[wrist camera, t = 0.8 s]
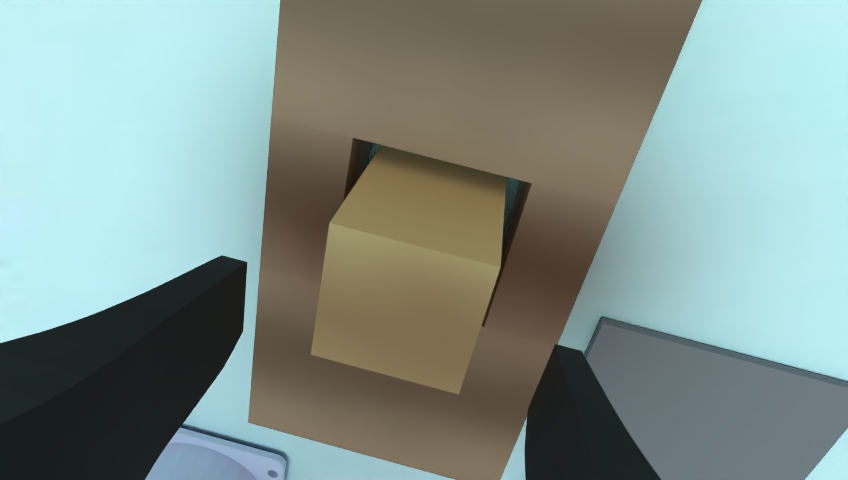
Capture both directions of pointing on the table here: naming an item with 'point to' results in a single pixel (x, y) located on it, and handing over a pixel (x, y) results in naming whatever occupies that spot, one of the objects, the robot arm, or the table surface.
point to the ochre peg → (411, 268)
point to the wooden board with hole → (464, 145)
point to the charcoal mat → (715, 406)
